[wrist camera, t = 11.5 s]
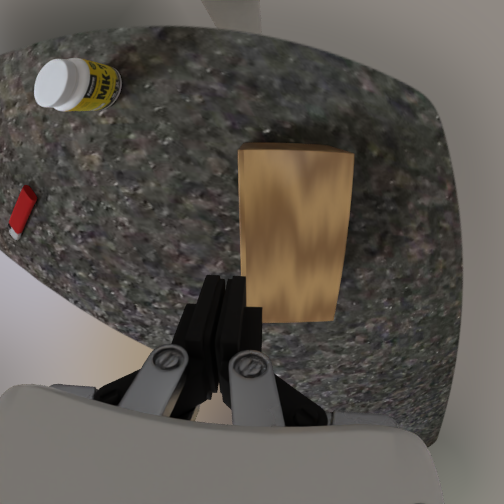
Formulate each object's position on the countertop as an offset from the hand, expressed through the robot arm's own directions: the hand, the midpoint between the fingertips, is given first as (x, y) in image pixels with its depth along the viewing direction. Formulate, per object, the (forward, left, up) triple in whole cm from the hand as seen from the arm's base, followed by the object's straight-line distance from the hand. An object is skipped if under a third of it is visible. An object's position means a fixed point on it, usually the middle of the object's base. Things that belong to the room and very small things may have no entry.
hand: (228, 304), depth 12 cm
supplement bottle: (-13, -14, -16) cm, 25 cm away
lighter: (0, -30, -16) cm, 34 cm away
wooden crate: (+1, 0, -11) cm, 11 cm away
